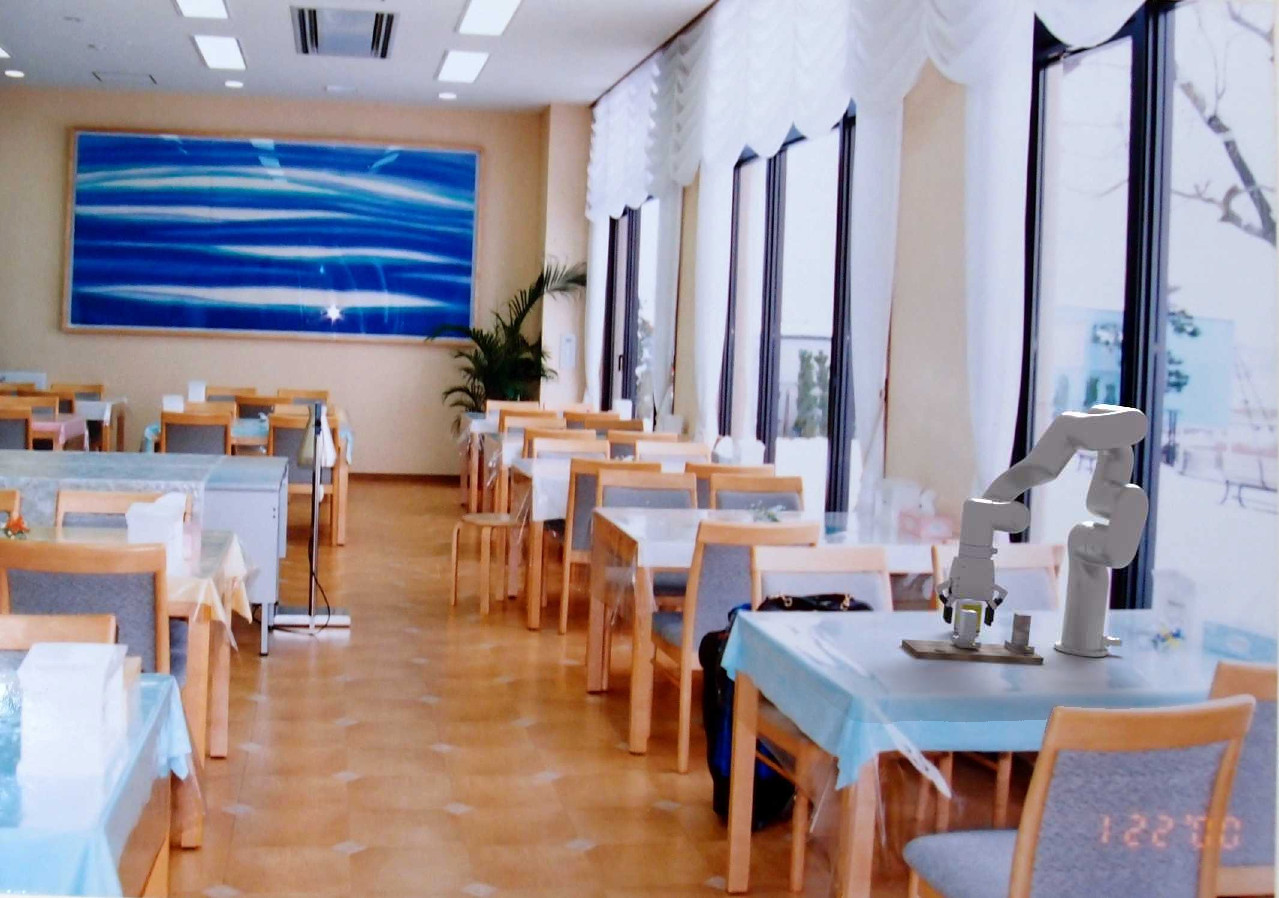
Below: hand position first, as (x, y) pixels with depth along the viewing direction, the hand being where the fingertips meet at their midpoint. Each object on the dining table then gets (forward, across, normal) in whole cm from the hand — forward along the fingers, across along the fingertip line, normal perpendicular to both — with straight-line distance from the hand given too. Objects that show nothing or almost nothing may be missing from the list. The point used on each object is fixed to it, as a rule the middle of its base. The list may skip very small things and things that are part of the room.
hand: (967, 623), depth 332 cm
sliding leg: (+5, 0, +1) cm, 5 cm away
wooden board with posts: (+7, -1, +2) cm, 7 cm away
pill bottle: (+7, -8, -22) cm, 25 cm away
